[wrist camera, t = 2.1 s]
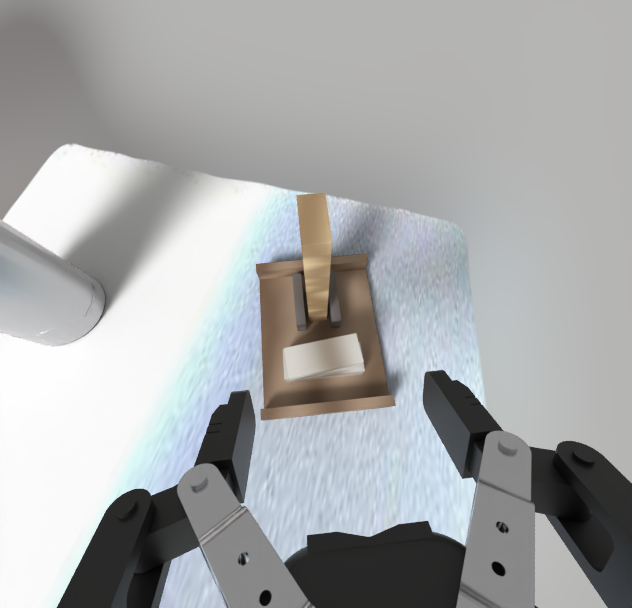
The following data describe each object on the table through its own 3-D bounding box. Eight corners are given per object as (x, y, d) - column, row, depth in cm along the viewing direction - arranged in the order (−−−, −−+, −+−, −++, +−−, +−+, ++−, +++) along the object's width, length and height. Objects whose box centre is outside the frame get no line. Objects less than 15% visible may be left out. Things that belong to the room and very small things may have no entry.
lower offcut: (286, 382, 32) (284, 379, 29) (285, 354, 33) (282, 349, 30) (361, 374, 32) (364, 371, 29) (357, 347, 33) (360, 341, 31)
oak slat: (309, 321, 34) (301, 244, 19) (306, 289, 36) (296, 195, 21) (326, 319, 34) (332, 241, 19) (322, 288, 36) (325, 192, 21)
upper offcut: (291, 381, 29) (288, 377, 27) (286, 353, 30) (283, 348, 28) (360, 366, 30) (363, 361, 27) (353, 339, 31) (356, 333, 28)
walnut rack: (266, 420, 31) (260, 420, 28) (260, 275, 37) (255, 262, 34) (388, 406, 32) (396, 405, 28) (363, 265, 38) (367, 251, 35)
